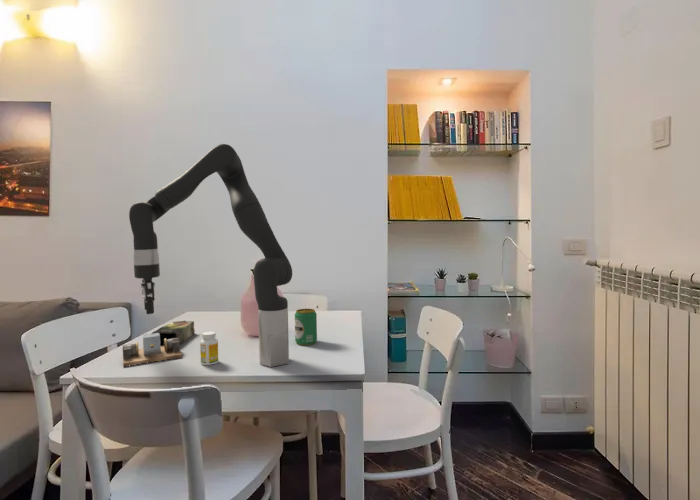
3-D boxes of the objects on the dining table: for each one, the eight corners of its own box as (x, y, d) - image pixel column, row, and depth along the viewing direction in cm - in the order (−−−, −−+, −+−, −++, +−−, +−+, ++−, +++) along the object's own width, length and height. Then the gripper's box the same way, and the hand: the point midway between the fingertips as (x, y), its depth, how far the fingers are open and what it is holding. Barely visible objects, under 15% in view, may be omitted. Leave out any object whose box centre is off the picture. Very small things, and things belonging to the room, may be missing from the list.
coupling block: (160, 353, 136) (160, 335, 136) (144, 356, 134) (143, 338, 134) (159, 349, 141) (158, 332, 140) (143, 352, 138) (142, 334, 138)
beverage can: (290, 342, 151) (290, 310, 150) (307, 338, 156) (307, 307, 156) (304, 347, 145) (303, 313, 144) (321, 342, 151) (320, 310, 150)
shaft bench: (176, 346, 148) (176, 332, 147) (182, 357, 135) (181, 341, 135) (123, 354, 139) (122, 339, 139) (123, 367, 127) (122, 350, 127)
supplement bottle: (198, 366, 127) (197, 335, 127) (203, 360, 133) (202, 331, 132) (216, 365, 128) (215, 335, 127) (220, 359, 133) (219, 330, 132)
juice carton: (171, 333, 167) (171, 319, 166) (196, 333, 167) (195, 318, 167) (149, 349, 147) (149, 332, 146) (177, 349, 147) (176, 332, 147)
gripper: (161, 263, 131) (163, 313, 132) (157, 261, 143) (159, 307, 144) (134, 265, 127) (137, 316, 128) (132, 262, 139) (135, 309, 140)
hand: (149, 311), depth 136 cm, fingers open, 8 cm apart
